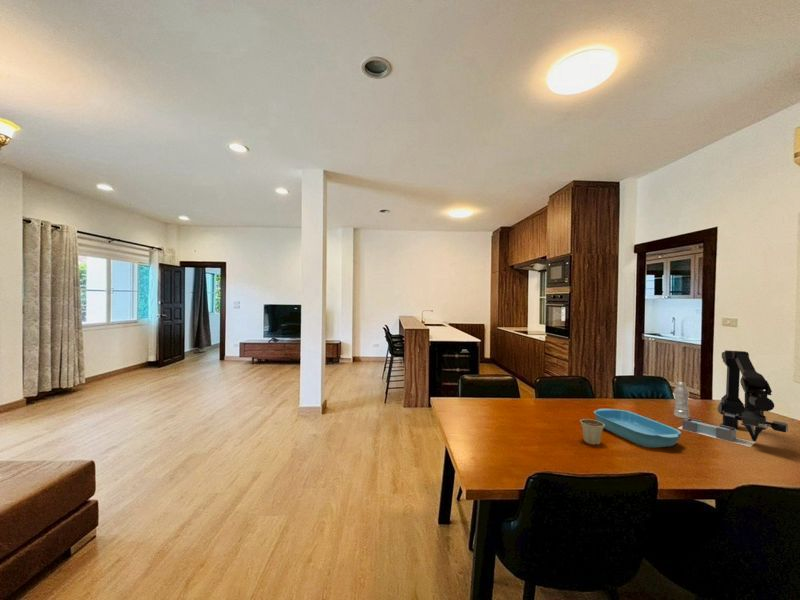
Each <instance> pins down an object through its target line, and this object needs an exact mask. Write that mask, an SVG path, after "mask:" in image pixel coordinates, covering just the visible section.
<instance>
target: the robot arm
mask: <svg viewBox="0 0 800 600" xmlns="http://www.w3.org/2000/svg"><path fill="white" fill-rule="evenodd" d="M721 359H722V362H723V363H724V365H725V366H726V386H725V394H724V395H723V396H722V397H721V400H720V402H719V403H718V406H717V412H718V414H720V415H722V423H720V425H724V426H729V427H733V428H736V430H739V429H741V428H742V426H744V427H745V429H746V430H747V432H748V433H749V436H750V438H751V440H752V442H757V440H758V438H759V436H760V435H761V433H762V431H763V430H764V431H765V430H766V431H767V429H769V427H770V428H771V429H772V430H774V431H777V432H782V433H787V432H788V431H789V425H788V423H786V422H782V421H778V420H773V421H772V422H771V421H767V417H766V415H765V412H770V411H772V410H773V409H774V408H775V403H774V401H773V400H772V399H771V398H768V396H772V392H773V391H772V388H771V385H770V384H769V382H768V381H767V380H766V379H765V376H763V374H761V373H759V372H757V371H756V369H755V367H754V365H753V363H752V361H751V358H750V354H749V352H748V351H743V350H724V351H723V352H721ZM740 374H741V375H740ZM740 376H741V378H740ZM740 387H741V388H742V390H743V392H744V403H743V401H742V400H741V398H739V397H740ZM739 421H741V425H739ZM720 425H719V426H720Z"/></svg>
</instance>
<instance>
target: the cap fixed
mask: <svg viewBox="0 0 800 600" xmlns="http://www.w3.org/2000/svg"><path fill="white" fill-rule="evenodd" d="M691 421H696V422H701V423H702V420H700V419H696V418H691V417H689V418H686V419H682V423H681V424H682V425H681V426H682V429H683V431H686V430H687V432H690V431H691V433H694V432H695V433H694V434H698V433H697V423H695V422H691ZM682 429H681V430H682Z"/></svg>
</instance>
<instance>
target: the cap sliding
mask: <svg viewBox="0 0 800 600" xmlns="http://www.w3.org/2000/svg"><path fill="white" fill-rule="evenodd" d="M718 427H722V428H718ZM718 427H716V438H715V439H717V438H720V439H719V440H721V439H724V440H723V441H725V440H728V441H727V442H729V441H733V440H734V439H736V438H737V429H736V428H733V427H729V426H724V425H719V426H718ZM723 428H726V429H723ZM727 429H730V430H727Z"/></svg>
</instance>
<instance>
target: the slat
mask: <svg viewBox="0 0 800 600" xmlns="http://www.w3.org/2000/svg"><path fill="white" fill-rule="evenodd" d="M691 422H695V423H697V432H700V433H704V434H708V435H712V436H716V427H718V428H722V427H720V426H717V425H712V424H709V423H703V422H702V421H701V422H696V421H691ZM723 429H726V428H723ZM727 430H730V429H727Z"/></svg>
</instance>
